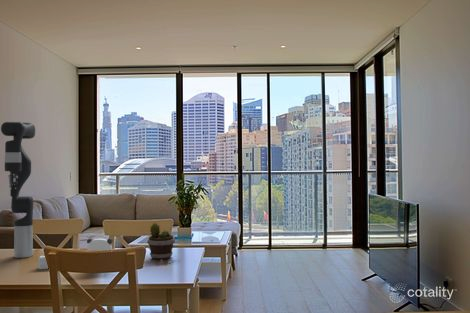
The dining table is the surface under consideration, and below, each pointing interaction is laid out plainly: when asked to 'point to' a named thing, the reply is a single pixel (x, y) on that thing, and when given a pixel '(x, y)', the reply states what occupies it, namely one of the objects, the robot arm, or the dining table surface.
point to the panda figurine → (99, 244)
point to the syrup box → (42, 263)
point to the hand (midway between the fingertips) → (13, 196)
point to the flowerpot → (160, 243)
